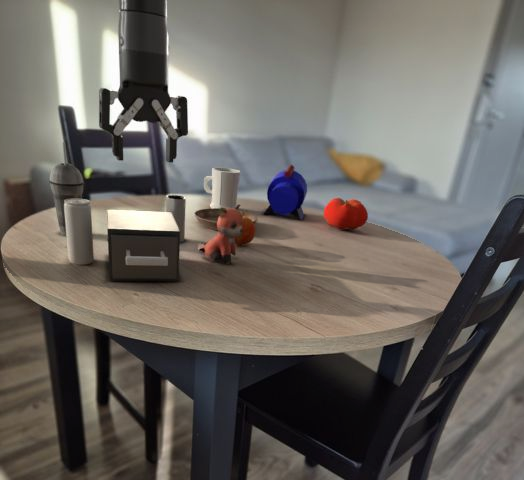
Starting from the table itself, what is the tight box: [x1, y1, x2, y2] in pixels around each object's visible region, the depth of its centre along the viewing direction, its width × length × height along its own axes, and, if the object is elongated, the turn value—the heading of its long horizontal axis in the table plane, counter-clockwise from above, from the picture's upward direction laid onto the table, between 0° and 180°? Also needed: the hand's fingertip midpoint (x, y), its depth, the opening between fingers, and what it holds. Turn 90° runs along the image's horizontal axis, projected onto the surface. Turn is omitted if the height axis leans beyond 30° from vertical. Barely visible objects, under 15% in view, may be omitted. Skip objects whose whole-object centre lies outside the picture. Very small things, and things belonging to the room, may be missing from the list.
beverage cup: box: [49, 141, 85, 237], centre depth 109 cm, size 7×7×20 cm
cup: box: [203, 167, 241, 209], centre depth 151 cm, size 10×9×12 cm
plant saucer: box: [193, 207, 258, 231], centre depth 135 cm, size 18×18×3 cm
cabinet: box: [106, 209, 181, 282], centre depth 95 cm, size 15×13×10 cm
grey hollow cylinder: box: [165, 194, 187, 243], centre depth 115 cm, size 4×4×10 cm
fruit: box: [234, 211, 256, 246], centre depth 119 cm, size 7×7×8 cm
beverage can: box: [64, 198, 95, 266], centre depth 94 cm, size 5×5×12 cm
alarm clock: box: [263, 164, 308, 221], centre depth 153 cm, size 12×12×15 cm
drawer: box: [111, 234, 177, 279], centre depth 91 cm, size 19×12×8 cm, turn 16°
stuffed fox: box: [197, 204, 243, 265], centre depth 106 cm, size 8×11×12 cm
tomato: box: [323, 197, 369, 231], centre depth 146 cm, size 14×13×9 cm
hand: (145, 160), depth 82 cm, fingers open, 8 cm apart
